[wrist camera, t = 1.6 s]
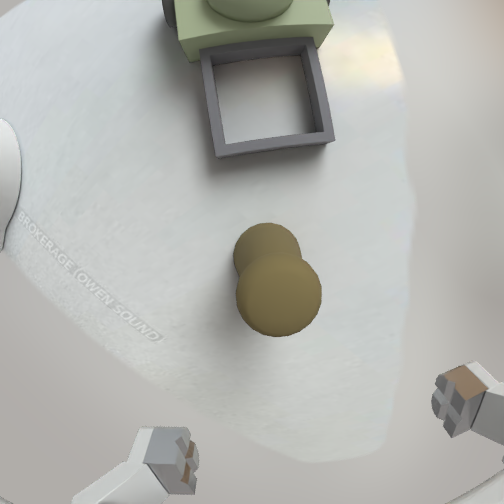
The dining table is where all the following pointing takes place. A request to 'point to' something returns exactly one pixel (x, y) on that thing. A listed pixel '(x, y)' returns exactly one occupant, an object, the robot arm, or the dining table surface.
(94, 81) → the dining table surface
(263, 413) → the dining table surface
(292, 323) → the brown knobbed peg
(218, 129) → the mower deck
